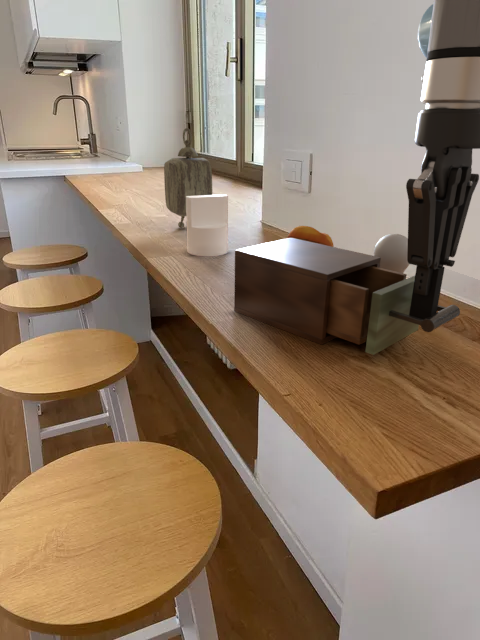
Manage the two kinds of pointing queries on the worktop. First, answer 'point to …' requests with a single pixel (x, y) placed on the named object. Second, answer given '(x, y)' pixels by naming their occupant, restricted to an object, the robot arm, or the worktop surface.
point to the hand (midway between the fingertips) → (422, 317)
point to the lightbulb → (392, 252)
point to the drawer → (377, 308)
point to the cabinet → (292, 283)
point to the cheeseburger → (310, 235)
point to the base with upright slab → (207, 224)
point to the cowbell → (186, 178)
